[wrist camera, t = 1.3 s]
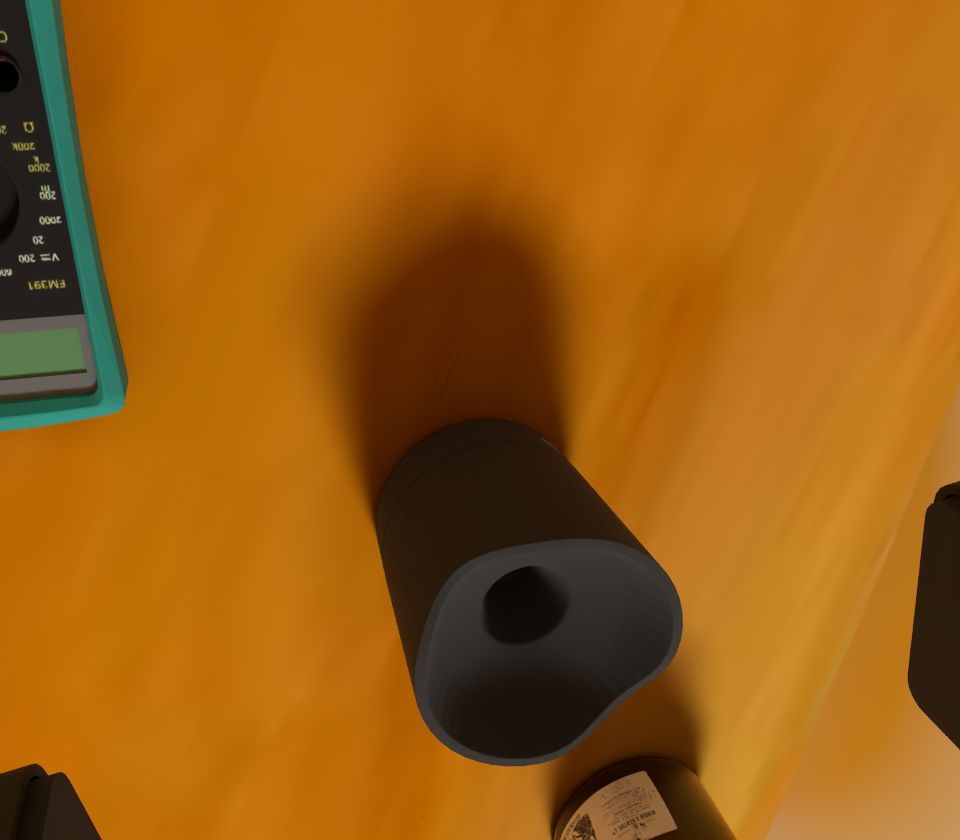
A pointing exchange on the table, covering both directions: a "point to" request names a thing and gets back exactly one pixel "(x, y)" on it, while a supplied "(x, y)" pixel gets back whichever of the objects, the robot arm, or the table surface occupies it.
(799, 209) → the table surface
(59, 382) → the digital multimeter
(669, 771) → the ink bottle
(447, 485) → the pen holder
